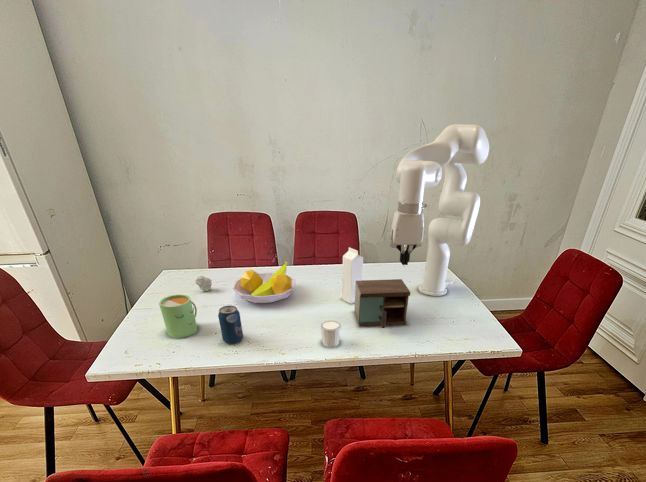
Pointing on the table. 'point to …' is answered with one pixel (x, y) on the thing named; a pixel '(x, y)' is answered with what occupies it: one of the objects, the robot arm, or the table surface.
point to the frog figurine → (203, 283)
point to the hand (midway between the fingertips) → (404, 263)
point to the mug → (178, 315)
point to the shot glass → (330, 333)
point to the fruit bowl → (265, 286)
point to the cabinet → (394, 299)
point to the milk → (351, 274)
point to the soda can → (230, 324)
